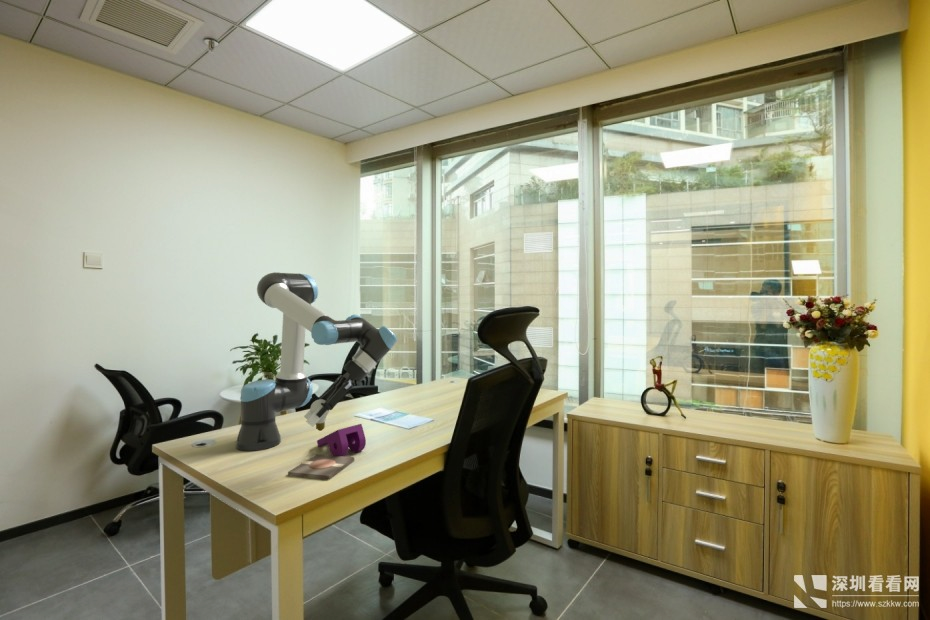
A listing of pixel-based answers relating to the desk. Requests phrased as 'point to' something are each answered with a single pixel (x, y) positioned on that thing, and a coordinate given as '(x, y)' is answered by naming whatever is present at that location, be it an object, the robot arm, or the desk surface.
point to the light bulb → (321, 423)
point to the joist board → (321, 466)
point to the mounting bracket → (344, 440)
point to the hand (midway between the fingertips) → (308, 421)
